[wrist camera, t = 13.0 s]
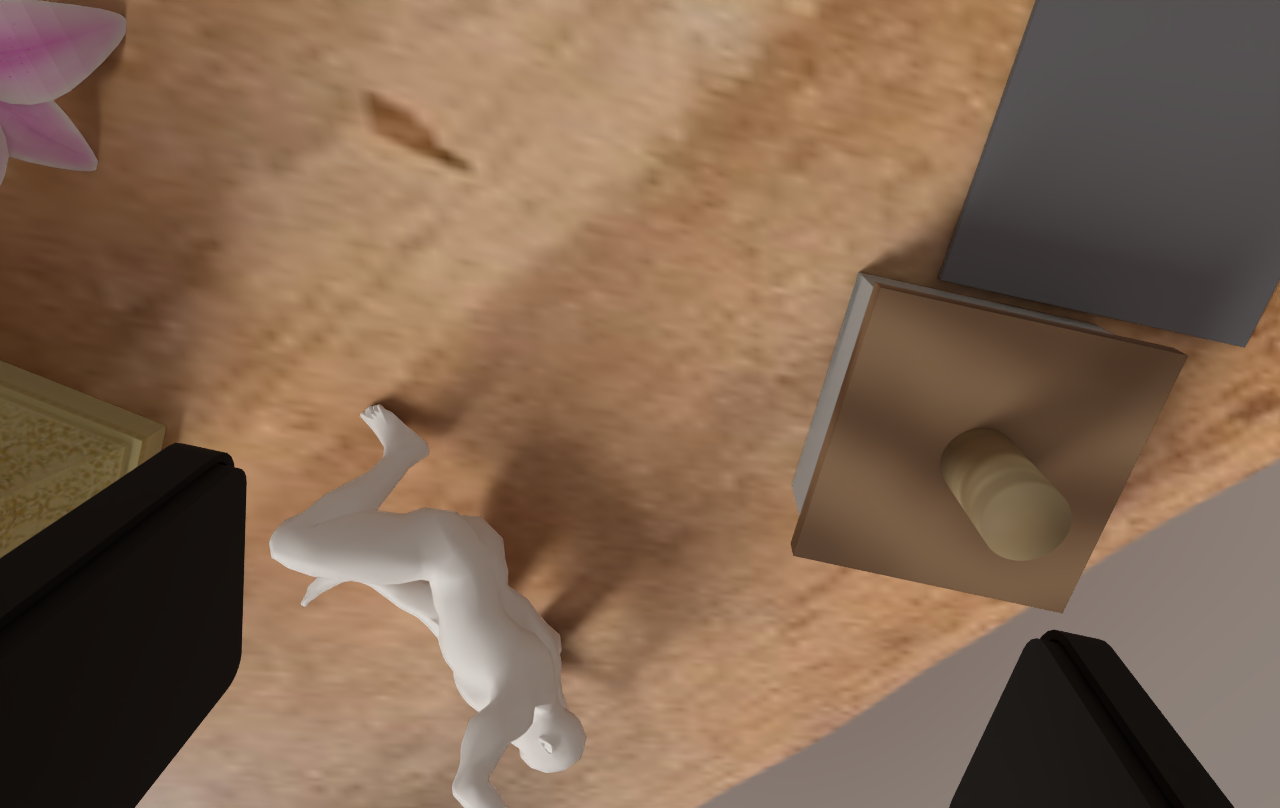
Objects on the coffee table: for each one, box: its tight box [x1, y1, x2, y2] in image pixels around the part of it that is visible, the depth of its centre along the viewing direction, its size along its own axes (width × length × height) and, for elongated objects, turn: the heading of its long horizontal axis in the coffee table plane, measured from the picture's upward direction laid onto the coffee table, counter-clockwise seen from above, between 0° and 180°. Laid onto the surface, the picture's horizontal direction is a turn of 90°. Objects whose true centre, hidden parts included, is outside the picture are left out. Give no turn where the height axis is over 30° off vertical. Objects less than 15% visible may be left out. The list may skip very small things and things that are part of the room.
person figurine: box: [269, 404, 586, 808], centre depth 38 cm, size 13×13×18 cm
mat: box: [938, 0, 1280, 347], centre depth 33 cm, size 14×14×1 cm
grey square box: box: [792, 272, 1113, 515], centre depth 36 cm, size 11×11×5 cm
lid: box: [791, 282, 1188, 613], centre depth 30 cm, size 12×12×6 cm
